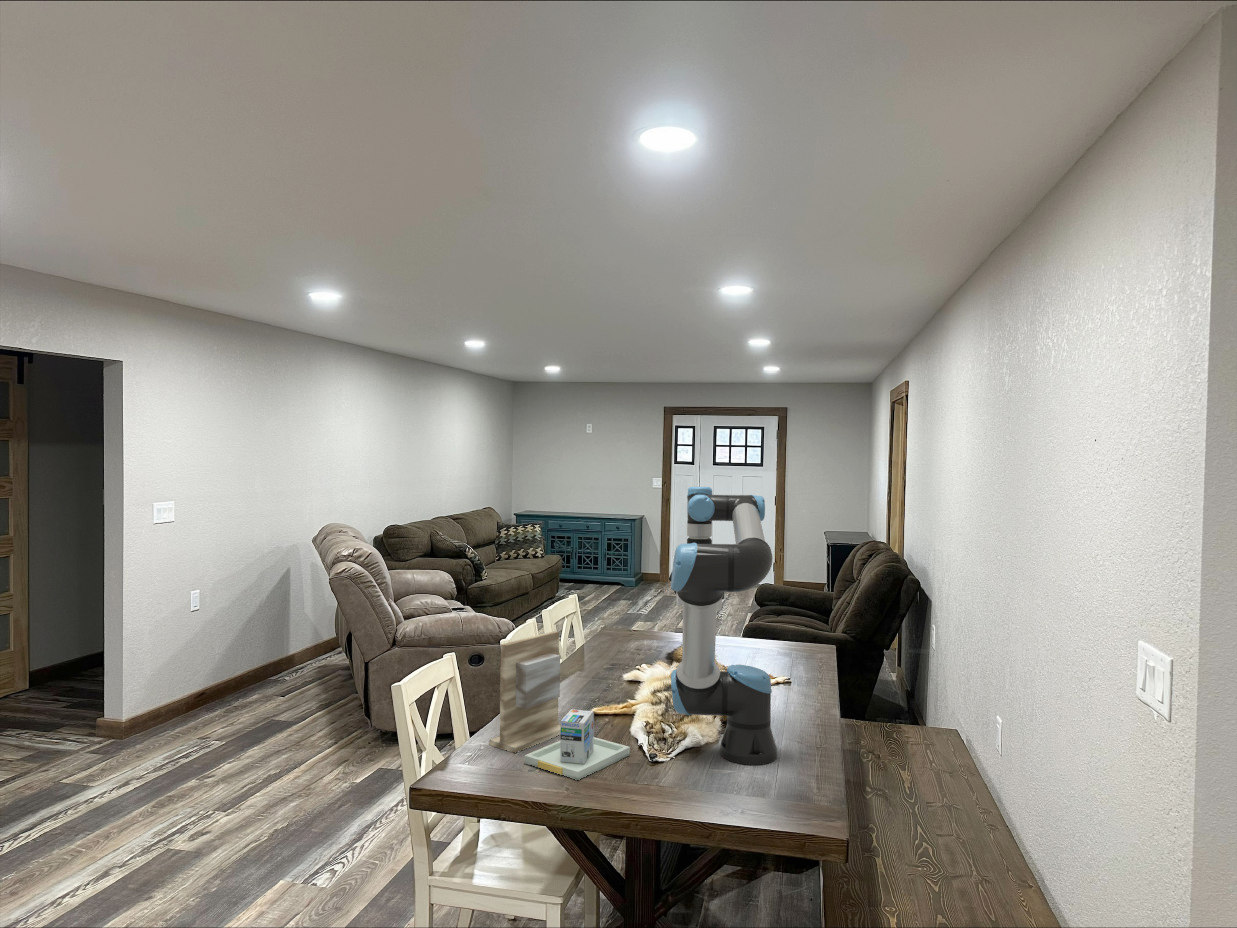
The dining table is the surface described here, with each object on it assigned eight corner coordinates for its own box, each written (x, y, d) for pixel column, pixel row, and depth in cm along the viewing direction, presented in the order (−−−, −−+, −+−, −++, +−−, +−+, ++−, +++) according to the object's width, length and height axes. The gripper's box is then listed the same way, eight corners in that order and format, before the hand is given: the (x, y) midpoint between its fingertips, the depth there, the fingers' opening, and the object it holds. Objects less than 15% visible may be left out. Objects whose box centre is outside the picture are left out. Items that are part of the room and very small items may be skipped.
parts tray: (629, 755, 217) (630, 746, 217) (576, 781, 199) (576, 772, 199) (578, 740, 227) (578, 732, 227) (523, 764, 209) (523, 755, 209)
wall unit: (568, 731, 235) (569, 633, 235) (515, 753, 217) (516, 647, 217) (542, 724, 241) (543, 629, 241) (489, 745, 223) (490, 642, 223)
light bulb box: (584, 764, 207) (584, 722, 207) (559, 762, 209) (559, 720, 209) (594, 750, 218) (594, 710, 218) (570, 748, 219) (570, 708, 219)
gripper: (742, 539, 240) (741, 610, 240) (671, 534, 255) (670, 601, 255) (729, 541, 234) (729, 614, 234) (658, 535, 249) (657, 604, 249)
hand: (698, 607), depth 245 cm, fingers open, 13 cm apart
